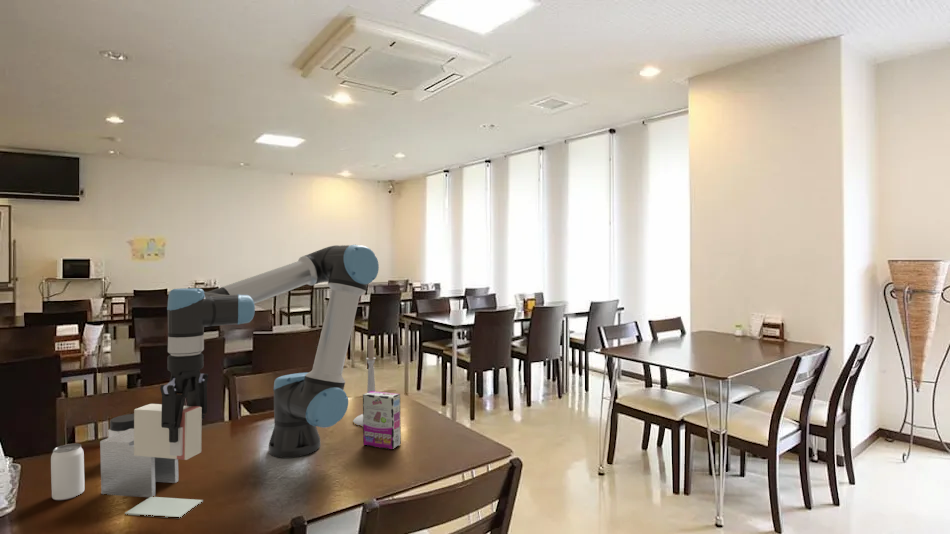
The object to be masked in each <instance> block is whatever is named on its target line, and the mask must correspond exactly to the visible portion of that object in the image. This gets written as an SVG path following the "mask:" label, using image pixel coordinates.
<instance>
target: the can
mask: <svg viewBox="0 0 950 534" xmlns="http://www.w3.org/2000/svg"><path fill="white" fill-rule="evenodd" d="M50 477H51V478H50V480H51V481H50V482H51V484H50V485H51V498H52V499H53V500H54V501H66V500H67V501H68V500H70V499H75V498H76V496H77V497H79V496H80V494H81V495H82V494H83V493H84V492H85V454H84V448H82V443H70V444H69V443H68V444H64V445H63V444H62V445H60V446H57V447H55V448H54V449H52V453H51V456H50ZM78 495H79V496H78Z"/></svg>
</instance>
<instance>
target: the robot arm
mask: <svg viewBox="0 0 950 534" xmlns="http://www.w3.org/2000/svg"><path fill="white" fill-rule="evenodd" d="M375 254H376V253H375V252H374V251H373V250H372V249H371V248H370V247H368V246H365V245H361V244H360V245H359V244H347V245H343V244H342V245H331V246H327V247H323V248H322V249H319V250H315V251H313V252H311V253H309V254H306V255H302V256H300V257H299V258H298V260H297V261H296V262H295V261H294V262H292V263H289V264H286V265H283V266H281V267H280V266H279V267H277V268H274V269H272V270H269V271H266V272H263V273H259V274H257V275H254V276H249V277H247V278H245V279H241V280H238V281H236V282H233V283H229V284H227V285H224V286H222V287H218V288H215V289H212V290H209V291H204V289H202V288H198V287H197V288H196V287H195V288H193V287H191V288H188V287H187V288H186V287H185V288H174V289H173V288H172V289H171V290H170V291H169V292H168V296H167V297H168V298H167V307H166V310H167V353H168V354H169V355H168V356H167V362H166V363H167V367H166V369H167V371H168V372H170V378H169V382H168V383H167V384H161V385H160V388H159V390H160V392H161V404H162V419H161V427H162V428H168V429H169V442H170V455H174V456H181V455H183V427H180V424H181V418H182V412H183V407H184V406H185V402H187V406H200V407H202V420H203V419H205V418H206V414H207V413H208V381H209V380H208V379H209V374H208V373H201V371H200V370H202V369H203V368H204V362H205V361H204V358H205V357H204V354H203V351H204V350H205V338H204V336H205V334H204V333H205V327H206V328H207V327H218V326H228V325H230V326H231V325H232V326H233V325H237V326H239V325H242V324H249V323H251V321H252V320H253V319H254V316H255V313H256V312H255V310H256V305H255V304H258V303H260V302H263V301H266V300H268V299H271V298H275V297H276V296H279V295H283V294H284V293H287V292H289V291H290V292H291V291H292V290H294V289H297V288H300V287H302V286H305V285H308V286H315V285H318V284H320V283H321V284H322V283H327V285H328V287H329V289H330V296H329V300H328V304H327V307H326V310H325V311H326V312H325V317H324V320H323V323H322V328H321V332H320V337H319V341H318V344H317V348H316V349H317V350H316V353H315V357H314V361H313V365H312V368H311V369H312V370H311V371H309V372H298V373H290V374H285V375H281V376H278V377H276V378H275V379H274V381H273V382H274V383H273V411H274V412H273V414H274V427H273V431H272V433H271V436H270V439H269V443H268V454H269V455H271V456H272V457H275V458H281V459H282V458H283V459H284V458H285V459H289V458H297V457H303V456H307V455H310V454H312V452H313V453H315V452H317V451H318V450H319V449H320V448H321V437H320V434H319V431H318V428H317V427H319V428H322V429H323V428H324V429H325V428H330V427H332V426H334V425H336V424H338V422H340V421H341V420H342V419H343V418H344V416H345V415H346V413H347V410H348V407H349V397H348V395H347V393H346V392H345V385H346V379H344V377H343V375H342V374H343V371H344V365H345V361H346V357H347V353H348V348H349V345H350V339H351V336H352V331H353V327H354V323H355V319H356V314H357V309H358V305H359V301H360V297H361V296H362V295H364V294H366V293H367V289H368V286H369V284H370V283H372V282H373V281H374V280H376V279H377V276H378V275H379V268H380V267H379V260H378V257H377V256H376V255H375ZM319 447H320V448H319ZM318 448H319V449H318ZM317 449H318V450H317ZM314 451H315V452H314ZM309 453H310V454H309Z"/></svg>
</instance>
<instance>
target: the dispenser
mask: <svg viewBox="0 0 950 534" xmlns="http://www.w3.org/2000/svg"><path fill="white" fill-rule="evenodd" d="M99 446H100V447H99V449H100V450H99V452H100V455H99V456H100V488H101V491H100V493H101V495H104V494H107V496H118V497H119V496H120V497H121V496H122V497H123V496H124V497H137V498H138V497H139V498H149V497H153V496H154V497H156V483H172V484H176V483H177V482H179V459H170V458H158V457H147V456H135V455H134V429H128V430H125V431H123V432H121V433H118V434H116V435H114V436H111V437H109V438H108V437H107V438H105V439H102V440H100V441H99Z"/></svg>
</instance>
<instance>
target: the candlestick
mask: <svg viewBox="0 0 950 534" xmlns="http://www.w3.org/2000/svg"><path fill="white" fill-rule="evenodd" d="M374 341H375V340H374V339H372V338H370V339H367V357H366V358H365V359H366V361H367V364H368V369H367V390H366V393H368V392H370V391H375V392H376V382H375V380H376V379H375V367H374V364H375V363H376V362H375V361H376V359H377V357H375V351H374V349H375V346H374V345H375V344H374V343H375V342H374ZM353 422H354V423H355V424H357V425H361V426H363V413H361V414H359V415H357V416H356V417H354V419H353V421H352V423H353Z"/></svg>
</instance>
